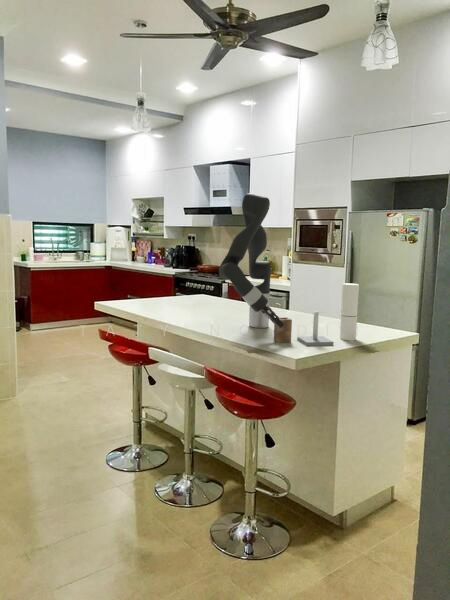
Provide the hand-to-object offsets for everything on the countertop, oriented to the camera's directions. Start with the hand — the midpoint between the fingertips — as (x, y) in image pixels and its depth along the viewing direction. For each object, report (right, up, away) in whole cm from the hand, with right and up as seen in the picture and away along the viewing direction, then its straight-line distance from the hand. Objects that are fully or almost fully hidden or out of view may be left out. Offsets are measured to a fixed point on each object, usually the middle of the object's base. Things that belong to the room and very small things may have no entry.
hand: (279, 324), depth 213 cm
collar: (+1, -7, +1) cm, 8 cm away
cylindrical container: (+32, -7, +9) cm, 34 cm away
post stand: (+15, -8, 0) cm, 17 cm away
